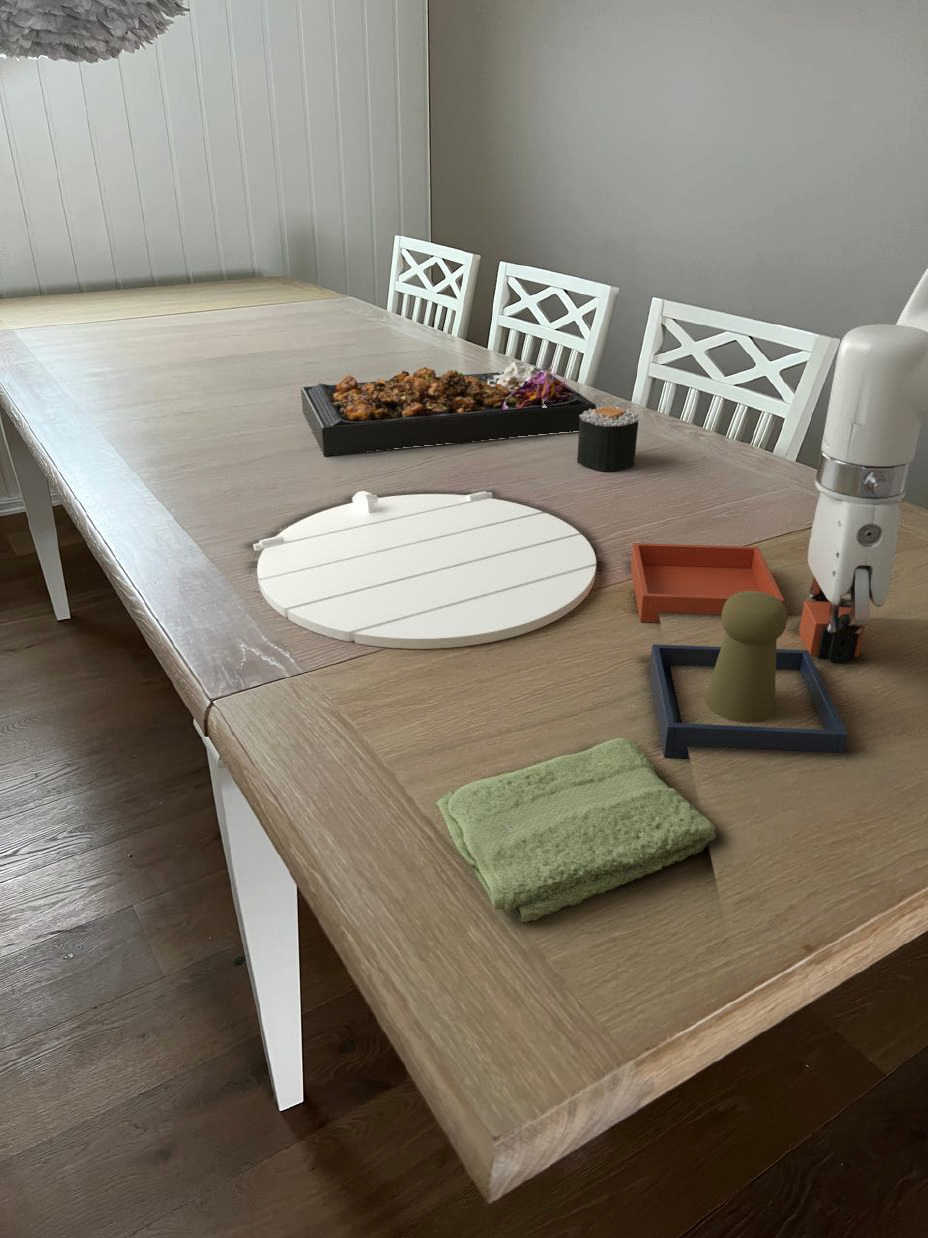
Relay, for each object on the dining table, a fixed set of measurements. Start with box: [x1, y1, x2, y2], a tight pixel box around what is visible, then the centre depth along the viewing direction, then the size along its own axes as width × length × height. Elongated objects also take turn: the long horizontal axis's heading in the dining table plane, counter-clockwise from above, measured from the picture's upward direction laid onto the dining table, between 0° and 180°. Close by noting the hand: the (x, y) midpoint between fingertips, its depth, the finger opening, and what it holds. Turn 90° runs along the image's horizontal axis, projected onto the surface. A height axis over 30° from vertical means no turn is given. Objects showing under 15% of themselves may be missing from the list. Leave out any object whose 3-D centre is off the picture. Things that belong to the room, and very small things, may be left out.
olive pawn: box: [704, 591, 788, 724], centre depth 78 cm, size 6×6×11 cm
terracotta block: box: [798, 600, 866, 658], centre depth 89 cm, size 4×4×4 cm
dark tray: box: [648, 643, 849, 759], centre depth 81 cm, size 14×13×3 cm
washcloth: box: [435, 737, 717, 923], centre depth 67 cm, size 13×18×3 cm
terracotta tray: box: [630, 542, 785, 624], centre depth 101 cm, size 14×13×3 cm
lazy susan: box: [252, 490, 597, 650], centre depth 108 cm, size 40×39×3 cm
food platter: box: [300, 360, 597, 457], centre depth 155 cm, size 45×25×10 cm, turn 106°
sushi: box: [576, 405, 640, 472], centre depth 137 cm, size 8×8×8 cm
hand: (826, 649), depth 90 cm, fingers closed on terracotta block, 4 cm apart
